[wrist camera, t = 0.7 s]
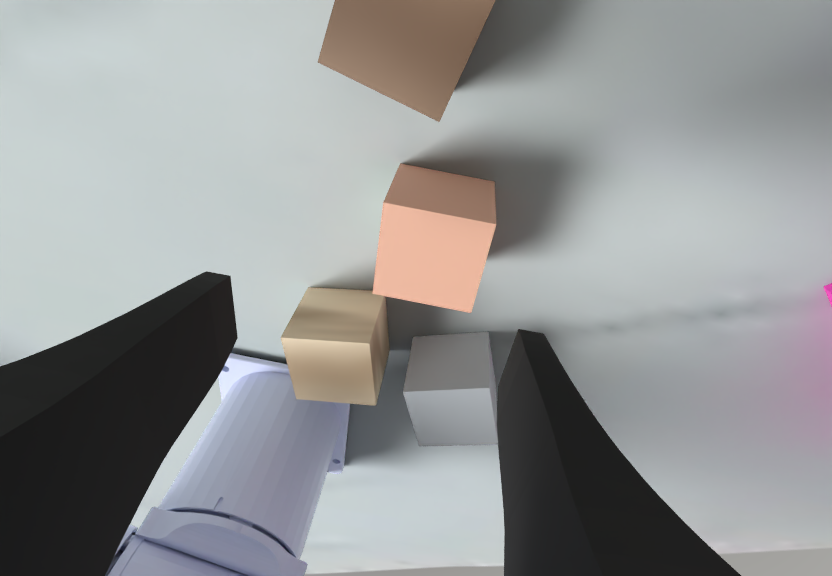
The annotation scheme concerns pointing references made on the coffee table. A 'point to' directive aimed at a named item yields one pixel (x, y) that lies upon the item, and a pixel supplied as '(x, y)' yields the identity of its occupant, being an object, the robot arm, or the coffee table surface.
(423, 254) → the terracotta cube
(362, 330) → the beech cube
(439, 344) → the slate cube
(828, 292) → the bracket
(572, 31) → the coffee table surface
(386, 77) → the walnut cube
